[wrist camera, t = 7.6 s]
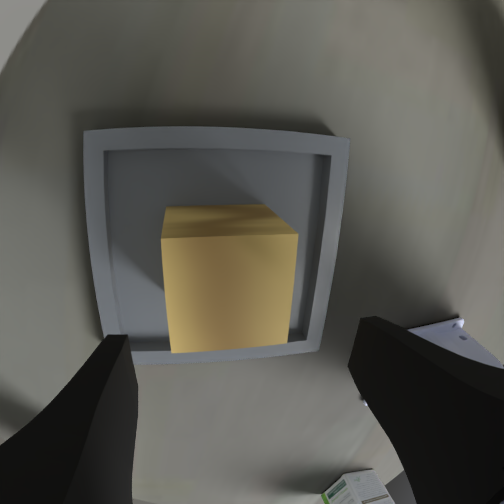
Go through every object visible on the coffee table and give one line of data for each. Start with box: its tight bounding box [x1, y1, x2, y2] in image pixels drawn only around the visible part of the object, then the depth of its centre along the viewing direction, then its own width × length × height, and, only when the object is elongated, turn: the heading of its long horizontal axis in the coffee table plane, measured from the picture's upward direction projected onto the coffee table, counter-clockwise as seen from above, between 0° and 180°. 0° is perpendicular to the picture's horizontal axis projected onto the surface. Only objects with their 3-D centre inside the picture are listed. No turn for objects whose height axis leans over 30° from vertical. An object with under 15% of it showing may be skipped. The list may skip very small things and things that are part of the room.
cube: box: [161, 204, 298, 353], centre depth 15 cm, size 5×5×5 cm
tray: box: [83, 126, 350, 364], centre depth 17 cm, size 13×13×2 cm
